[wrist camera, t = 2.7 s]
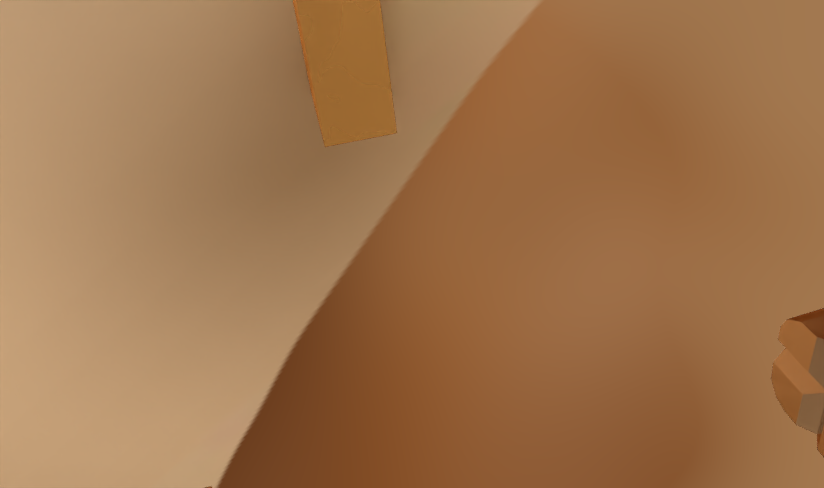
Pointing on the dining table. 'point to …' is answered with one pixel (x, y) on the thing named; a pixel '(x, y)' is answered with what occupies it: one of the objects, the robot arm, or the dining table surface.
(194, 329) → the dining table surface
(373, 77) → the upright wooden block
